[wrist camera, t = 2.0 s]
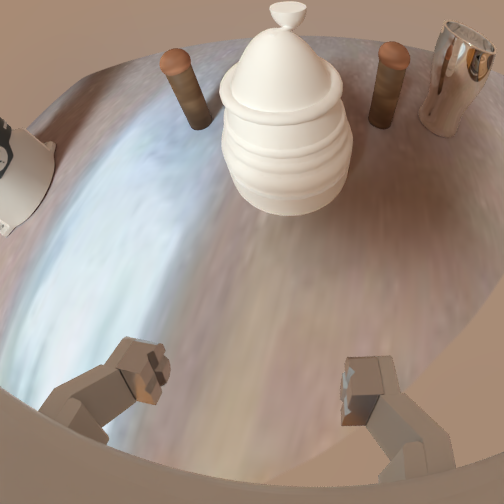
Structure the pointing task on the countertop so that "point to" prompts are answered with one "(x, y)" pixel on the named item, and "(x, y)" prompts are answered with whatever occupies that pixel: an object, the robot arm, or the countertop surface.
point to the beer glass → (455, 76)
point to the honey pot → (285, 121)
